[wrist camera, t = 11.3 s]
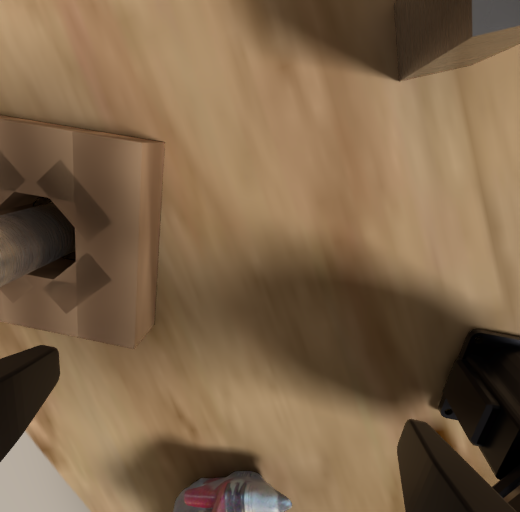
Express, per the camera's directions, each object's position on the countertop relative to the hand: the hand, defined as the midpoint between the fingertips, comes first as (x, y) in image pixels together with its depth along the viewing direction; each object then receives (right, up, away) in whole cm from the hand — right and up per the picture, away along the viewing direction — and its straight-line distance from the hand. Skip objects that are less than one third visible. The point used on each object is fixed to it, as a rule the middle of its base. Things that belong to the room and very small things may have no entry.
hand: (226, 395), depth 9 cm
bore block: (-11, +6, +13) cm, 18 cm away
